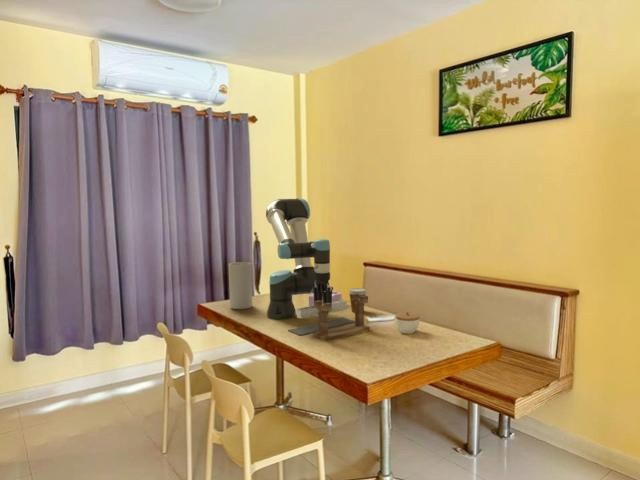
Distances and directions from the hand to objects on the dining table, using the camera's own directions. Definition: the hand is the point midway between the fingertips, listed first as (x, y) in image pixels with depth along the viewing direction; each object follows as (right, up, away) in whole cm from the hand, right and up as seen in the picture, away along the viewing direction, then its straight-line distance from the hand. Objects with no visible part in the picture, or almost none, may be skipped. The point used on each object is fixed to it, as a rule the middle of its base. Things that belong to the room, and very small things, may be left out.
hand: (322, 320), depth 219 cm
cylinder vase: (-46, 0, +42) cm, 62 cm away
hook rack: (+9, -4, -10) cm, 14 cm away
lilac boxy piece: (+2, 0, +41) cm, 41 cm away
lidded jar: (+39, -4, -10) cm, 40 cm away
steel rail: (0, +3, 0) cm, 3 cm away
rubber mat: (0, -3, 0) cm, 3 cm away
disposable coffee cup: (+19, 0, +28) cm, 34 cm away
